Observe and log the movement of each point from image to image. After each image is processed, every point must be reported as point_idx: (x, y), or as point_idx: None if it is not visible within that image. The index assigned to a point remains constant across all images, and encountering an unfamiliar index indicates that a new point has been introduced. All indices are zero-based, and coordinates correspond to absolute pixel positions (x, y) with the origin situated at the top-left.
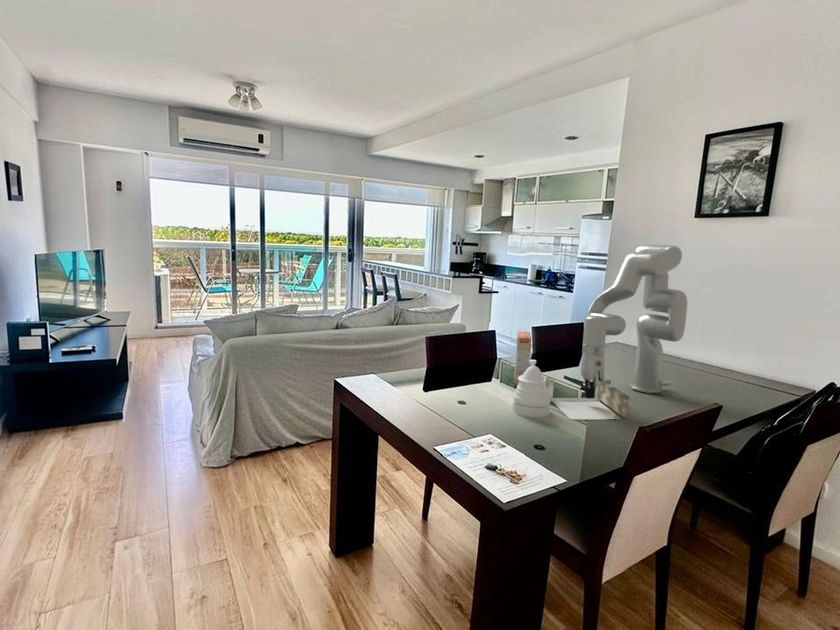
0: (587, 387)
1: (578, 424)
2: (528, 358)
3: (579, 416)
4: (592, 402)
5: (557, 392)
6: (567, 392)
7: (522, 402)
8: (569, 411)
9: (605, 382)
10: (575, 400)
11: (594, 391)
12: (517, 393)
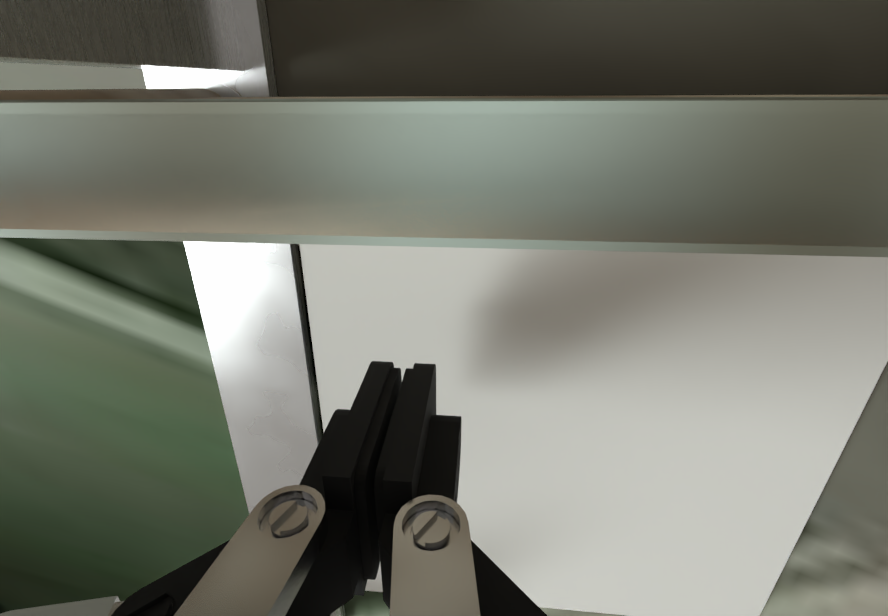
0: (365, 566)
1: (855, 607)
2: None
3: (720, 555)
4: (334, 273)
5: (58, 462)
6: (19, 378)
7: None
8: (585, 572)
9: (78, 164)
10: (303, 431)
11: (420, 436)
12: None
